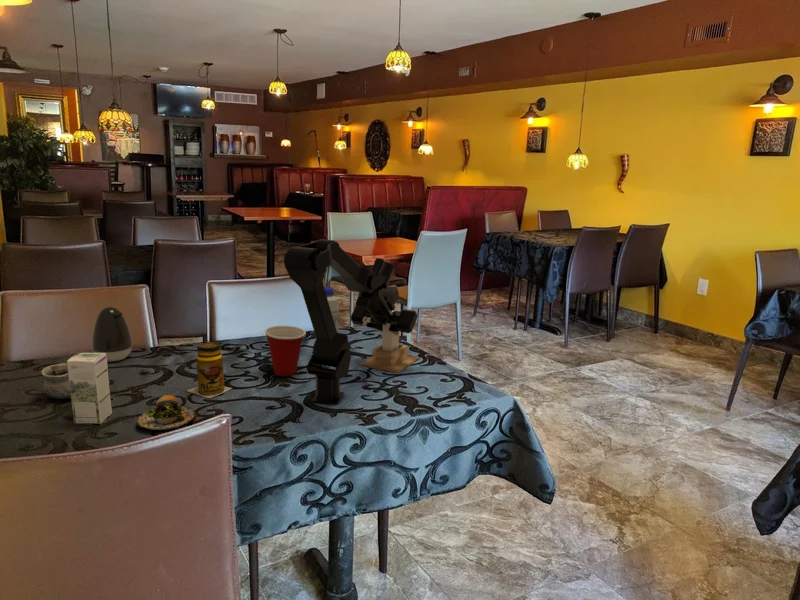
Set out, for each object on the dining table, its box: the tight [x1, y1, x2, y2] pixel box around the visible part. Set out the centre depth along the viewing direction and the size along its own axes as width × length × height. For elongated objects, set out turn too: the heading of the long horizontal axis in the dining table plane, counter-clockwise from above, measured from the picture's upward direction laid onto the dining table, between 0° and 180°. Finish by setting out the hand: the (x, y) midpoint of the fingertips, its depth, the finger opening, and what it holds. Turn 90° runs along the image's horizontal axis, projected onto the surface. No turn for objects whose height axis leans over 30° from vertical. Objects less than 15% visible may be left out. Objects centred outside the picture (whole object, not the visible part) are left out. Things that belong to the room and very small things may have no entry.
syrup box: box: [66, 352, 113, 425], centre depth 122 cm, size 6×6×14 cm
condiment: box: [186, 341, 233, 399], centre depth 140 cm, size 7×8×12 cm
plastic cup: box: [264, 325, 307, 377], centre depth 153 cm, size 11×11×12 cm
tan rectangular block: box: [381, 323, 400, 352], centre depth 164 cm, size 4×3×12 cm, turn 153°
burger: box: [136, 386, 197, 431], centre depth 122 cm, size 12×12×8 cm
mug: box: [40, 362, 71, 400], centre depth 135 cm, size 10×12×10 cm
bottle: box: [324, 286, 340, 333], centre depth 171 cm, size 7×7×20 cm
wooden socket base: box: [359, 343, 420, 374], centre depth 165 cm, size 14×12×4 cm
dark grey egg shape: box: [91, 306, 134, 363], centre depth 161 cm, size 10×10×15 cm
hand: (393, 332), depth 165 cm, fingers closed on tan rectangular block, 3 cm apart
